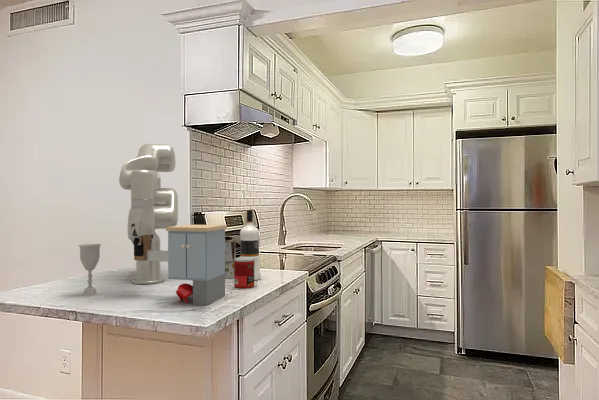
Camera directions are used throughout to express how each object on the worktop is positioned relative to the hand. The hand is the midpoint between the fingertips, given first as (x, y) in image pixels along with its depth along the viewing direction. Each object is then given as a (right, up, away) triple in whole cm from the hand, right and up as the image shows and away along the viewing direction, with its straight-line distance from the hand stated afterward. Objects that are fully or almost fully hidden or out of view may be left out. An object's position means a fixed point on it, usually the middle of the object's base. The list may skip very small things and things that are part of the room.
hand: (142, 254), depth 143 cm
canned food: (+35, -15, +14) cm, 40 cm away
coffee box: (+24, -15, +35) cm, 45 cm away
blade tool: (+5, -2, -1) cm, 6 cm away
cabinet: (+22, -14, -6) cm, 27 cm away
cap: (+19, -15, -8) cm, 25 cm away
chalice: (-20, -15, +1) cm, 25 cm away
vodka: (+35, -15, +28) cm, 48 cm away
